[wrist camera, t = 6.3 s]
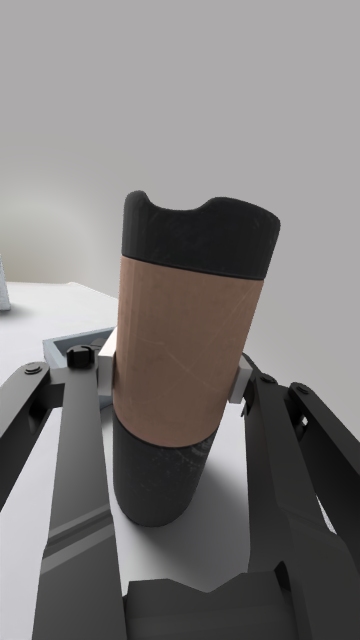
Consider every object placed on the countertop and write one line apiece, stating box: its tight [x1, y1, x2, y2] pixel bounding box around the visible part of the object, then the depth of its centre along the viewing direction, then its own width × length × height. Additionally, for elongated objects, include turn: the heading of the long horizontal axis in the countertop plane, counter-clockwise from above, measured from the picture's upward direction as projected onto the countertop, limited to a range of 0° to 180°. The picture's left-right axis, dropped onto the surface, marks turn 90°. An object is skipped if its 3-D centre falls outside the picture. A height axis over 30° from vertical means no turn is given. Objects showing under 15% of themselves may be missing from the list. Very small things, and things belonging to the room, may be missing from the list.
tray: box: [43, 327, 115, 410], centre depth 28 cm, size 14×14×3 cm
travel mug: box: [113, 190, 281, 527], centre depth 12 cm, size 8×8×20 cm
